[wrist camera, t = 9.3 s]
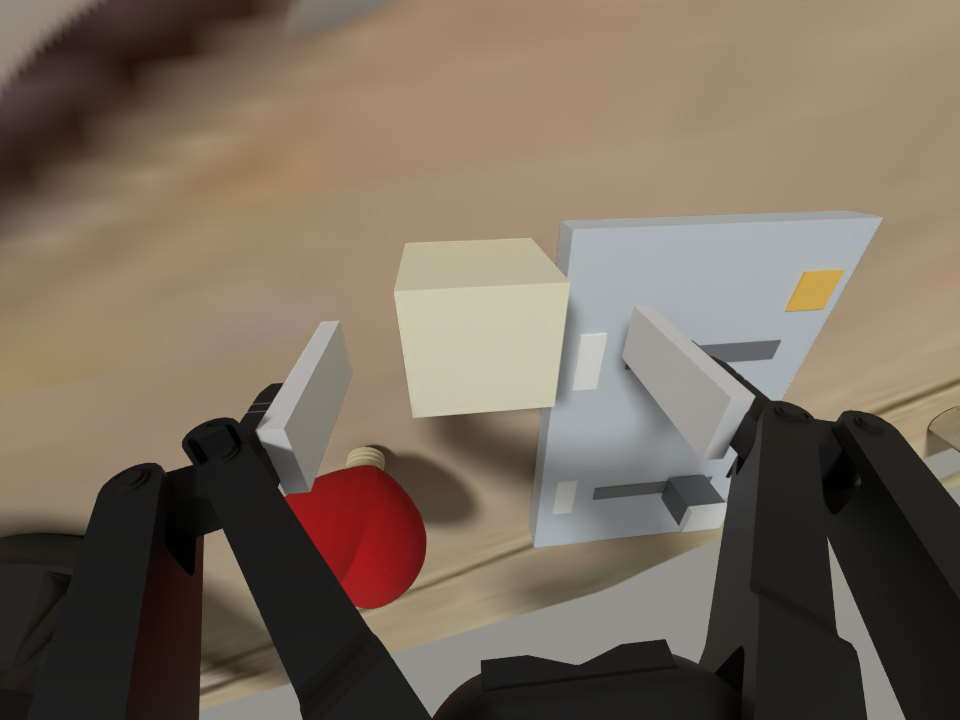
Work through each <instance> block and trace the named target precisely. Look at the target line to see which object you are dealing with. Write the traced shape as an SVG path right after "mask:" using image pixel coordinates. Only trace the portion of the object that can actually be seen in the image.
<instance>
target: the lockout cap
mask: <svg viewBox="0 0 960 720" xmlns="http://www.w3.org/2000/svg"><path fill="white" fill-rule="evenodd" d="M569 289H570V281H569V280H568V279H567V278H566V277H565V276H564V274H563V273H562V272H561V271H560V270H559V269H558V268H557V267H556V265H555V264H554V263H553V262H552V261H551V260H550V259H549V258H548V256H547V255H546V254H545V253H544V252H543V251H542V250H541V249H540V247H539V246H538V245H537V244H536V243H535V242H534V241H533V240H532V238H518V239H493V240H468V241H443V242H418V243H405V248H404V252H403V256H402V260H401V264H400V268H399V272H398V277H397V281H396V285H395V289H394V295H395V301H396V308H397V315H398V322H399V328H400V335H401V342H402V349H403V355H404V362H405V369H406V376H407V382H408V389H409V396H410V403H411V409H412V416H413V418H419V417H431V416H444V415H456V414H468V413H481V412H493V411H505V410H518V409H530V408H542V407H554V405H555V398H556V390H557V382H558V374H559V367H560V359H561V351H562V343H563V336H564V328H565V320H566V312H567V305H568V297H569Z"/></svg>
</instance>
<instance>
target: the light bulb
mask: <svg viewBox="0 0 960 720" xmlns="http://www.w3.org/2000/svg"><path fill="white" fill-rule="evenodd" d="M384 466H385V458H384V455H383V454H382V453H381V452H380V451H379V450H377V449H375V448H371V447H360V448H357V449H354V450H353V451H351V452H350V454H349V455H348V457H347V461H346V465H345V469H342V470H338V471H335V472H331V473H328V474H325V475H322V476H320V477H317V478H315V480H314V483H313V486H312V489H311V491H310V492H306V493H294V494H288V495H286V496H285V497H284V498H285V500H286V501H287V503H288V504H289V506H290V507H291V509H292V510H293V512H294V513H295V515H296V516H297V518H298V520H299V521H300V523H301V524H302V526H303V527H304V529H305V530H306V532H307V533H308V535H309V536H310V538H311V540H312V541H313V543H314V544H315V546H316V547H317V549H318V550H319V552H320V553H321V555H322V556H323V558H324V559H325V561H326V563H327V564H328V566H329V567H330V569H331V570H332V572H333V573H334V575H335V576H336V578H337V579H338V581H339V583H340V584H341V586H342V587H343V589H344V590H345V592H346V593H347V595H348V596H349V598H350V599H351V601H352V603H353V604H354V606H356V607H360V608H364V609H375V608H379V607H383V606H385V605H387V604H389V603H391V602H393V601H394V600H396V599H397V598H399V597H400V596H401V595H402V594H403V593H404V592H406V591H407V590H408V589H409V587H410V586H411V585H412V584H413V582H414V581H415V579H416V578H417V576H418V574H419V572H420V570H421V568H422V566H423V563H424V560H425V555H426V531H425V528H424V524H423V521H422V518H421V515H420V513H419V511H418V509H417V508H416V506H415V504H414V502H413V501H412V499H411V498H410V497H409V495H408V494H407V493H406V492H405V490H404V489H403V488H402V487H401V486H400V485H399V484H398V483H397V482H396V481H395V480H394V479H393V478H392V477H391V476H389V475H388V474H387V473H386V472H385V471H384Z"/></svg>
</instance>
